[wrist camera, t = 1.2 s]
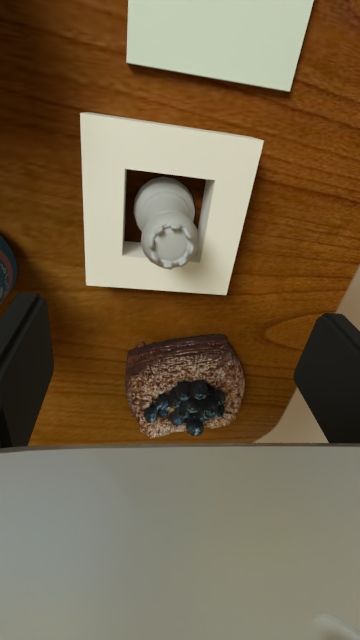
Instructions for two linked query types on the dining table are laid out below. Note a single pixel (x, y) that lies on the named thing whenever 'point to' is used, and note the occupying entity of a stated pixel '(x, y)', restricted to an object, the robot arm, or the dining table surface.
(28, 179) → the dining table surface
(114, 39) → the dining table surface
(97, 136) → the pocket block
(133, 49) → the coaster
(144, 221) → the rook chess piece
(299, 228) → the dining table surface
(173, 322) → the dining table surface
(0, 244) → the soda can
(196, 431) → the pastry
